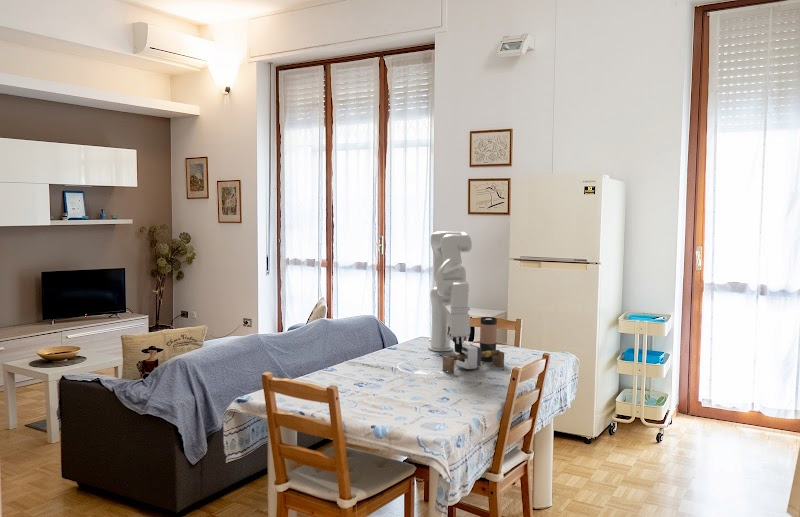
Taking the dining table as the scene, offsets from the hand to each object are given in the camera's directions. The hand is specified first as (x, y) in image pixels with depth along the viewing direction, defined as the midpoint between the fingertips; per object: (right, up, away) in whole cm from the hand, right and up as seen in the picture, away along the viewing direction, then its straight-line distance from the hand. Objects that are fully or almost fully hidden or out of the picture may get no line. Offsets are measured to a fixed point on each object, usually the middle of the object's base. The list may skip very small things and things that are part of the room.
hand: (458, 352), depth 295 cm
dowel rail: (+7, -8, +5) cm, 12 cm away
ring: (+7, -6, +4) cm, 10 cm away
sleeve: (+4, -7, +3) cm, 8 cm away
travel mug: (+16, -7, +21) cm, 27 cm away
